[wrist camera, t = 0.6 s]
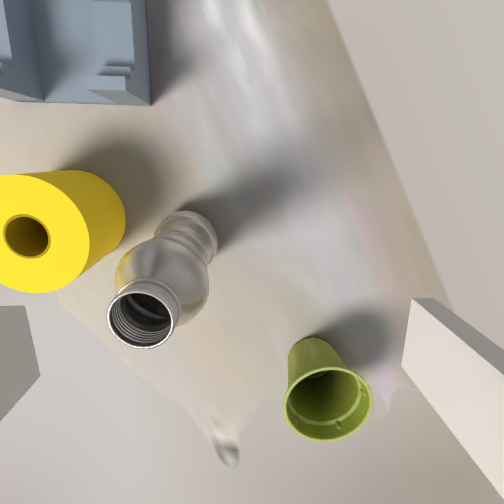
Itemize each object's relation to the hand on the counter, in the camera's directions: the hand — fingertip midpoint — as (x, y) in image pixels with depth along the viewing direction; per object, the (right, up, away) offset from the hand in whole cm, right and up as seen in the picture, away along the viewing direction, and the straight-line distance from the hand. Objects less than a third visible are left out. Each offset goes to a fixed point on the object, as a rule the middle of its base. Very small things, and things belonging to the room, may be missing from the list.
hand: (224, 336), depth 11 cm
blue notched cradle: (-16, +22, +20) cm, 34 cm away
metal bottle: (-6, +5, +26) cm, 27 cm away
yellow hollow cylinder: (-18, +7, +25) cm, 32 cm away
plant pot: (+9, -11, +31) cm, 34 cm away
